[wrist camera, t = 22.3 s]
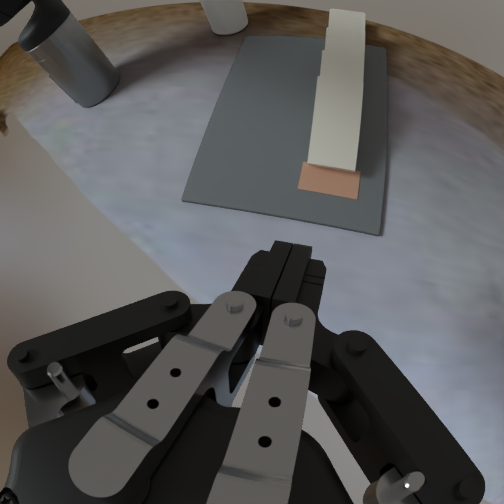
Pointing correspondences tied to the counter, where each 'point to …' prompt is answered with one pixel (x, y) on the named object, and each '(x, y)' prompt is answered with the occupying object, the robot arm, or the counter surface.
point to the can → (225, 15)
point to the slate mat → (290, 140)
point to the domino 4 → (336, 124)
